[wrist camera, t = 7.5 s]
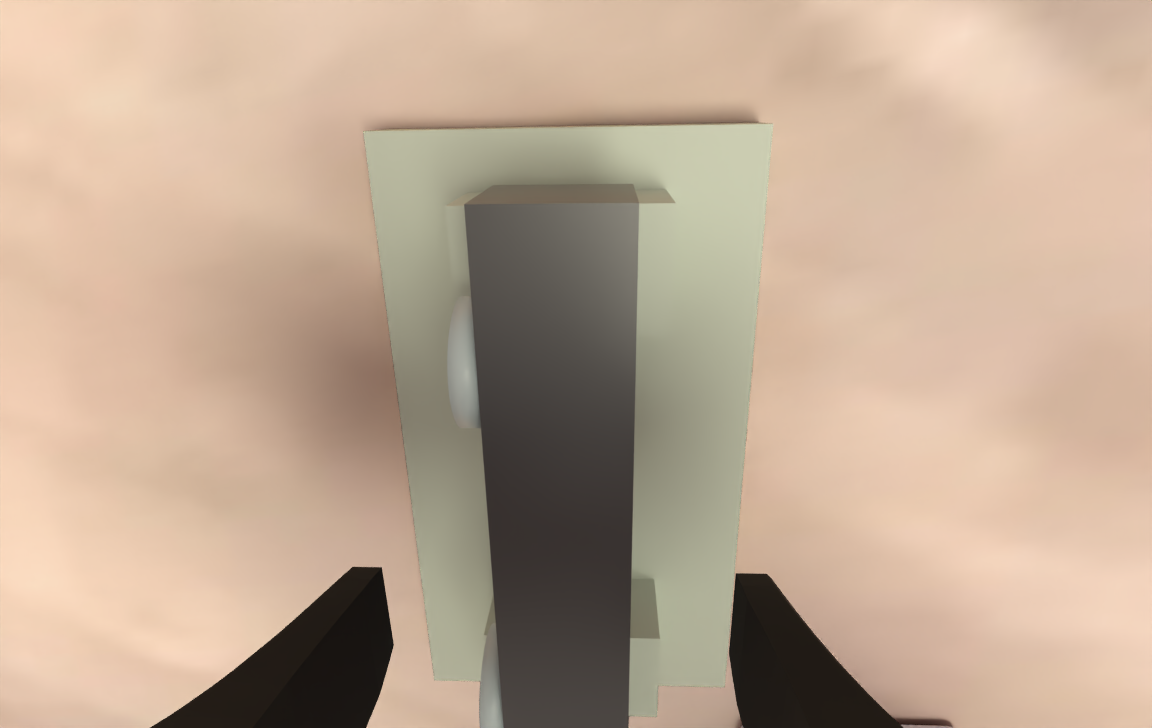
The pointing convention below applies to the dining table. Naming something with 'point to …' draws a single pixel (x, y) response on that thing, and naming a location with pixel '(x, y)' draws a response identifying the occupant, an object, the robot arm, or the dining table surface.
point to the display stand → (663, 368)
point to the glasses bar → (553, 443)
